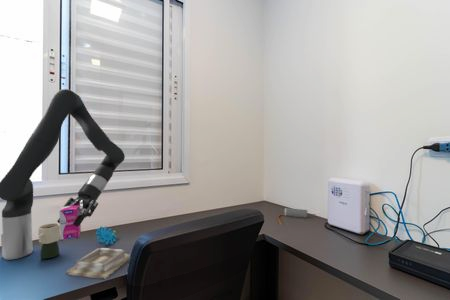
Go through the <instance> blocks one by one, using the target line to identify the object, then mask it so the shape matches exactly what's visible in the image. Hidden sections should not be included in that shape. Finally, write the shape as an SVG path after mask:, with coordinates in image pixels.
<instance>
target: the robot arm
mask: <svg viewBox="0 0 450 300" xmlns="http://www.w3.org/2000/svg"><path fill="white" fill-rule="evenodd" d="M69 115H70V116H71V117H72V118H73V119H74V120H75V121H76V122H77V123H78V124H79V126H80V127H81V129H82V131H83V133H84V135H85V136H86V138H87V139H88V140H89V143H91V144H92V146H93V147H94V148H95V149H96V150H97V151H98V152H101V151H102V152H103V153H104V154H105V156H104V158H103V159H102V161H101V162H100V163H99V166H98V167H97V168H96V169H95V170H94V172H93V173H92V174H91V176H90V177H88V178H87V180H86V181H85V182H84V183H83V185H82V186H81V188H80V189H79V190H78V192H77V195H78V196H77V197H76V198H73V197H70V198H69V199H68V200H67V201H66V203H65V204H64V205H63V206H62V207H65V206H75V205H79V210H80V215H79V216H78V217H77V218H76V220H75V221H74V223H73V225H74V226H76V227H78V226H79V225H80V224H82V223H83V221H84V219H85V218H87V217H89V218H90V217H92V215H93V213H94V212H95V210H96V208H97V207H98V206H99V203H98V201H97V200H98V199H99V197H100V195H101V194H102V193H103V192H104V190H105V188H106V187H107V184H108V183H109V181H110V180H111V178H112V177H113V174H114V172H115V171H116V169H118V166H120V164H121V163H123V162H124V161H125V158H126V156H125V153H124V151H123V150H122V149H121V148H120V146H118V145H117V144H116V143H114V142H113V141H112V140H111V139H110V138H109V136H108V135H107V134H106V133H105V131H104V130H103V129H102V128H101V127H100V125H99V124H98V123H97V122H96V121H95V119H94V118H93V116H92V115H91V114H90V112H89V110H88V109H87V107H86V105H85V104H84V102H83V99H82V97H81V96H80V95H79V94H77V93H76V92H74V91H72V90H71V89H68V88H60V89H59V90H57V91H56V92H55V93H54V94H53V96H52V98H51V100H50V102H49V104H48V107H47V109H46V111H45V113H44V115H43V116H42V117H41V120H40V121H39V123H38V124H37V126H36V128H35V129H34V131H33V132H32V133H31V134H30V136H29V137H28V140H27V141H26V143H25V145H24V146H23V149H22V150H21V152H20V153H19V155H18V157H17V159H16V160H15V162H14V163H13V165H12V167H11V168H10V169H9V171H8V172H7V173H6V174H5V175H4V177H3V178H2V179H1V180H0V199H1V200H3V201H5V202H6V203H5V205H4V207H3V209H2V210H1V221H2V222H1V224H2V227H1V228H2V229H1V230H2V234H0V240H1V241H0V242H1V257H2V258H3V260H7V261H8V260H16V259H20V258H24V257H26V256H28V255H30V254H32V253H33V227H32V226H33V222H32V208H33V204H34V184H33V182H32V180H31V178H32V176H33V174H34V172H35V171H36V170H37V169H38V168H39V167H40V166H41V165H42V164H43V163H44V161H47V159H48V158H49V156H50V155H51V154H52V152H53V151H54V149H55V147H56V146H57V144H58V141H59V139H60V135H61V130H62V126H63V124H64V121H65V120H66V119H67V117H68V116H69ZM56 221H57V222H56V223H59V224H60V217H59V218H58V219H57V220H56Z"/></svg>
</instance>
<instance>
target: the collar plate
mask: <svg viewBox="0 0 450 300" xmlns="http://www.w3.org/2000/svg"><path fill="white" fill-rule="evenodd" d="M130 254H131V253H126V252H125V250H124V249H120V248H119V249H118V248H107V247H100V248H96V249H95V250H93V251H91V252H89V253H88V254H86V255H84V256H83V257H81V258H79V259H78V260H76V261H75V265H74V266H72V267H71V268H69V269H67V270H66V272H65V275H70V276H76V277H86V278H92V279H93V278H95V279H101V278H104V280H106V279H108V278H109V277H110V276H111V275H112V274H114V273H115V272H116V271H117V270H118V269H120V268H121V267H122V266H123V265H125V263H127V262H128V261H129V260H130V259H129V257H130ZM120 266H121V267H120ZM115 270H116V271H115ZM114 271H115V272H114ZM110 274H111V275H110ZM109 275H110V276H109Z"/></svg>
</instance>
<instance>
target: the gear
mask: <svg viewBox="0 0 450 300" xmlns="http://www.w3.org/2000/svg"><path fill="white" fill-rule="evenodd" d="M107 229H108V230H107ZM116 233H117V231H116V230H113V231H112V228H108V226H104V227H103V226H100V227H99V228H97V229H96V233H95V236H97V237H96V239H97V240H98V243H99V244H104V245H105V246H108V245H113V244H114V243H115V242H116V240H117V239H116V238H117V235H115V234H116ZM104 242H105V243H104Z"/></svg>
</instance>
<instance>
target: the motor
mask: <svg viewBox="0 0 450 300" xmlns="http://www.w3.org/2000/svg"><path fill="white" fill-rule="evenodd" d="M316 215H317V214H315V213H308V209H301V208H299V209H297V208H290V207H289V208H288V207H285V208H284V214H279V215H278V216H277V221H278V222H279V224H280V225H281V226H283V225H284V224H283V223H282V221H281V220H280V218H279V217H281V216H284V217H293V218H294V217H295V218H303V219H308V216H316Z"/></svg>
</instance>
